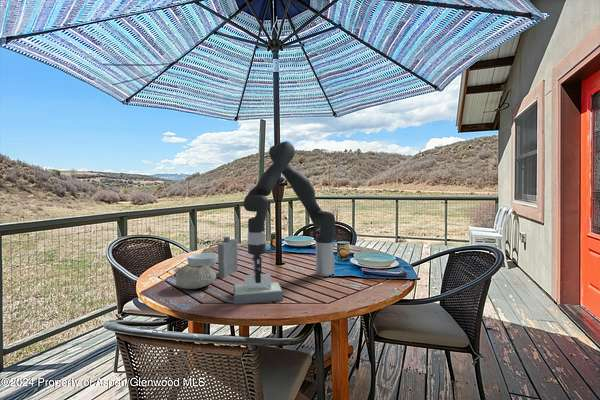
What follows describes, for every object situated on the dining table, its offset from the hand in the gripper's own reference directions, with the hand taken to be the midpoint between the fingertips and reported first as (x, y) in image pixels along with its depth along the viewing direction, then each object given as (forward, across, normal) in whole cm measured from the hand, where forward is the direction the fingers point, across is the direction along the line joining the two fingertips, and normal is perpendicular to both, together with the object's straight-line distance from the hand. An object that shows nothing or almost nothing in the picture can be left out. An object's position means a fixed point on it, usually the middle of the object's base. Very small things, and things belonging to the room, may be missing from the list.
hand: (257, 279), depth 141 cm
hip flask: (+8, -38, -13) cm, 41 cm away
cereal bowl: (+8, -55, -27) cm, 62 cm away
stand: (+7, 0, 0) cm, 7 cm away
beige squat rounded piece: (+8, -20, -27) cm, 34 cm away
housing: (+3, 0, 0) cm, 3 cm away
